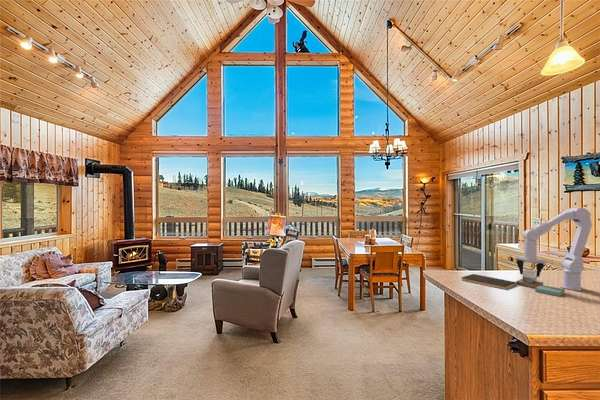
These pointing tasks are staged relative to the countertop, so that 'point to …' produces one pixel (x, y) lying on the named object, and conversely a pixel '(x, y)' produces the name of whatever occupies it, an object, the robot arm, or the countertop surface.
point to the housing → (530, 276)
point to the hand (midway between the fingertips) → (529, 275)
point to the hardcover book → (489, 281)
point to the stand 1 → (528, 284)
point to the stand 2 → (550, 290)
